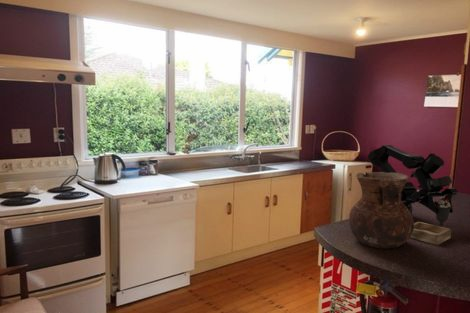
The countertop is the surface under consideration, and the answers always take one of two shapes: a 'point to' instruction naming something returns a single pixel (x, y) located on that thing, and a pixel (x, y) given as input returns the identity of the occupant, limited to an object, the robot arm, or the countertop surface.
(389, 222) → the jug
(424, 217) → the countertop surface
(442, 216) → the sundae
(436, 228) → the cream square tray
